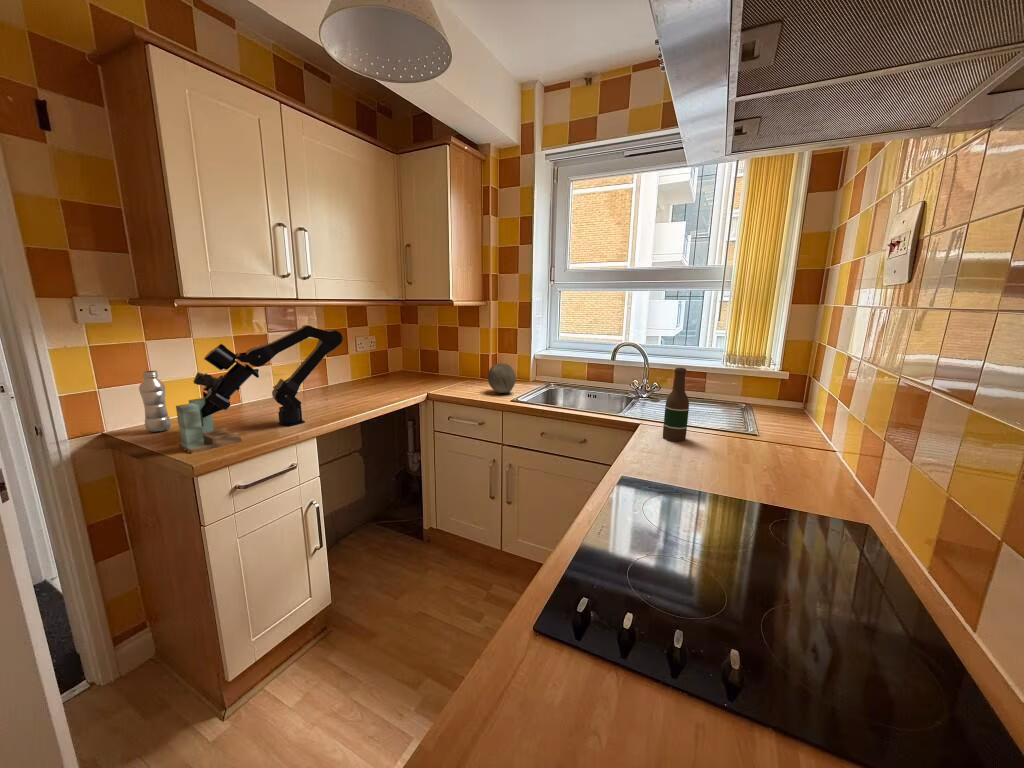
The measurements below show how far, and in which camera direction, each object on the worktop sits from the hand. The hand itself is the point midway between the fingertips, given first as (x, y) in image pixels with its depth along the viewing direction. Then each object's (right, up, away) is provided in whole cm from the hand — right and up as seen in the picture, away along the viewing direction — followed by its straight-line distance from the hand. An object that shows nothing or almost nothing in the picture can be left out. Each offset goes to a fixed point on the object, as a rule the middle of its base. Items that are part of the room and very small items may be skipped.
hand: (195, 417), depth 129 cm
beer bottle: (+155, -8, +9) cm, 155 cm away
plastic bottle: (-17, -5, +7) cm, 19 cm away
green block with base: (+8, -8, -5) cm, 12 cm away
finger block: (+1, -6, +2) cm, 7 cm away
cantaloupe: (+95, +6, +73) cm, 120 cm away
